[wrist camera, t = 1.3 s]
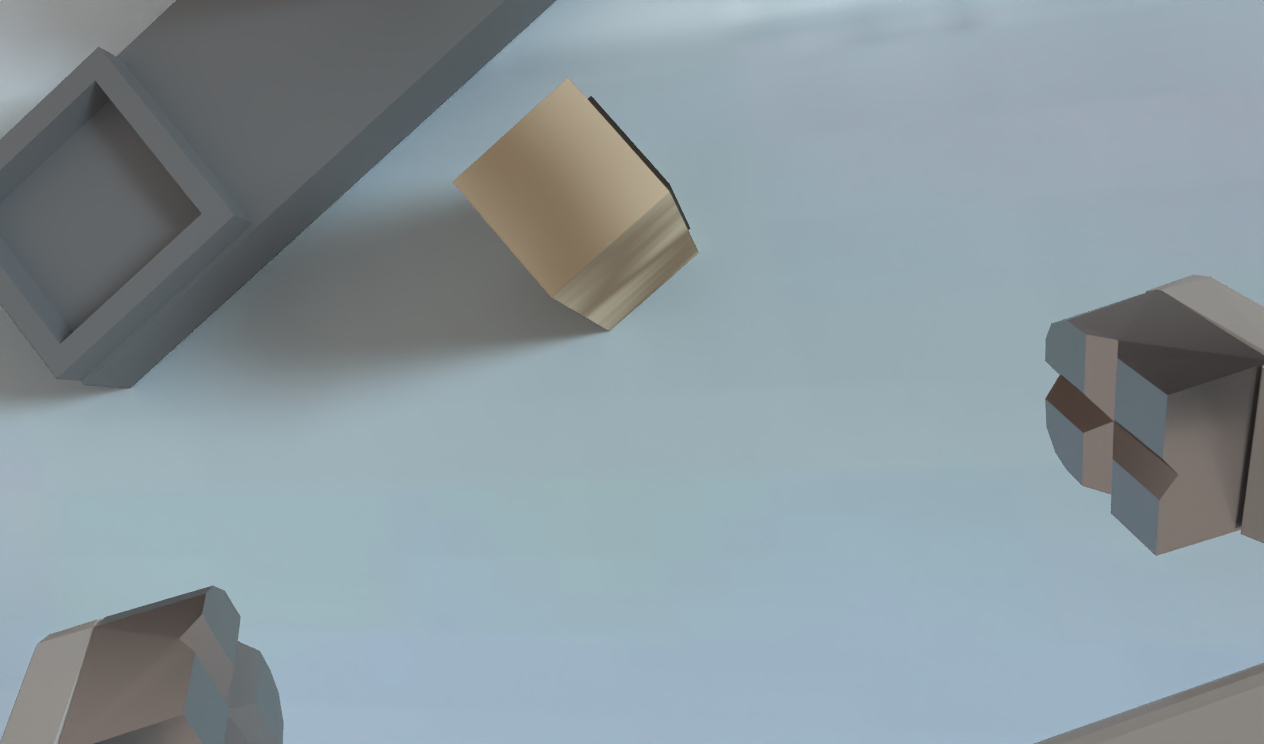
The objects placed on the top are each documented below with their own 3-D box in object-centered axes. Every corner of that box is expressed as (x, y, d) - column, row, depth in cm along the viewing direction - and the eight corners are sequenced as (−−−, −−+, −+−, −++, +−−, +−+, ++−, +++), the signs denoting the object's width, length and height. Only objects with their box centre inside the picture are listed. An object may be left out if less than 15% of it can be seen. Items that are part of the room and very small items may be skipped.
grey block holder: (464, -205, 37) (324, -485, 26) (608, -48, 36) (527, -268, 25) (5, 225, 39) (-315, 139, 28) (129, 388, 38) (-151, 368, 27)
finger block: (626, 161, 36) (574, 72, 27) (703, 248, 35) (675, 185, 26) (535, 244, 36) (452, 181, 27) (609, 331, 36) (550, 297, 27)
